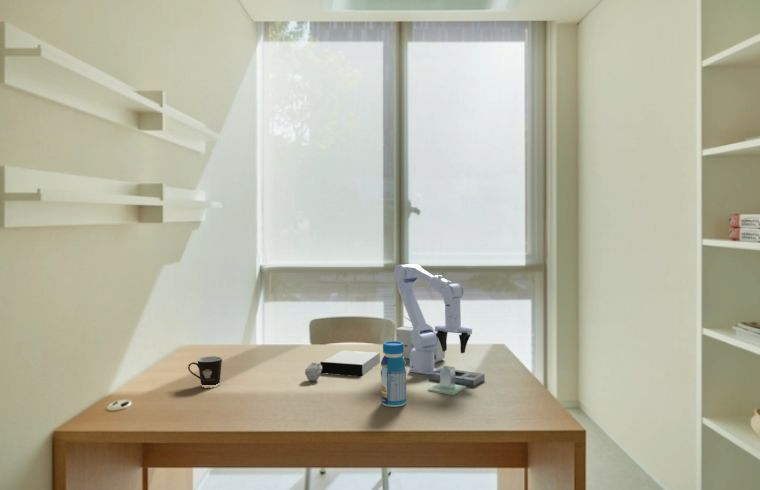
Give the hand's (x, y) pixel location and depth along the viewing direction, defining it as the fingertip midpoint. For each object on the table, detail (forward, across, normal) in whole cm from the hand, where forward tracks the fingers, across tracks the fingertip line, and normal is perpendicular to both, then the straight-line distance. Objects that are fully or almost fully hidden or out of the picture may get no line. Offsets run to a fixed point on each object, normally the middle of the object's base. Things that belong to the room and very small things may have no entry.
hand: (453, 351), depth 210 cm
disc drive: (+10, -44, -6) cm, 45 cm away
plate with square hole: (+10, +2, -1) cm, 11 cm away
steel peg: (+10, +4, -12) cm, 16 cm away
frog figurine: (+10, -44, -29) cm, 54 cm away
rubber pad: (+10, +4, -13) cm, 17 cm away
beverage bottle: (+11, -4, -36) cm, 38 cm away
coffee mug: (+10, -74, -54) cm, 92 cm away
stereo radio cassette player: (+10, -26, +21) cm, 35 cm away
